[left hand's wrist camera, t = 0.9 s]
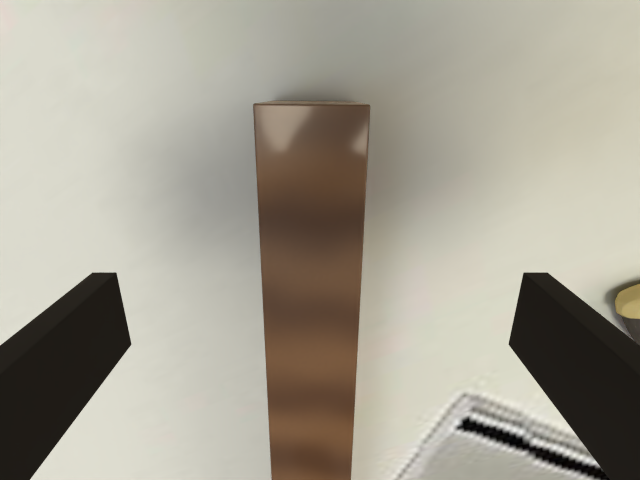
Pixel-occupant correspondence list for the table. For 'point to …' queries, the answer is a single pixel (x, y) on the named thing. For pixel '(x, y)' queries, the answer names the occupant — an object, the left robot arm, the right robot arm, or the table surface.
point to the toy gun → (630, 309)
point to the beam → (311, 278)
